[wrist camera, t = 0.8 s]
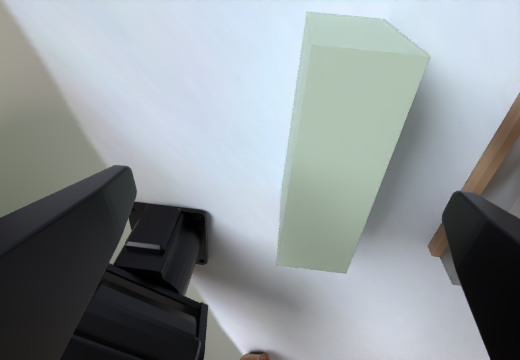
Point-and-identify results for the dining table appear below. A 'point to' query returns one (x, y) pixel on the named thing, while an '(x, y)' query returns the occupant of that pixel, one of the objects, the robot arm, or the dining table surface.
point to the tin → (255, 357)
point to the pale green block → (342, 134)
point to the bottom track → (491, 181)
